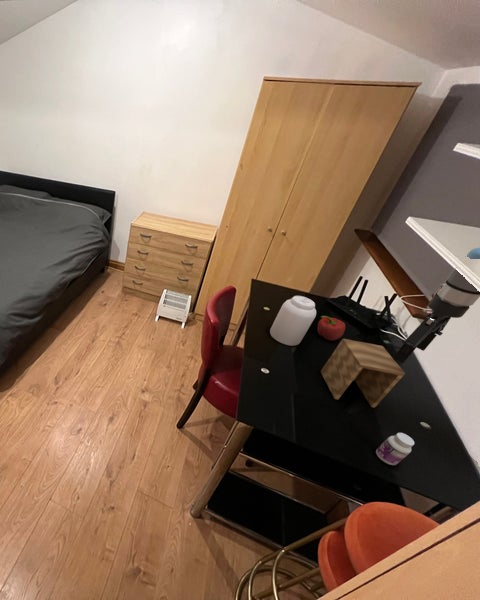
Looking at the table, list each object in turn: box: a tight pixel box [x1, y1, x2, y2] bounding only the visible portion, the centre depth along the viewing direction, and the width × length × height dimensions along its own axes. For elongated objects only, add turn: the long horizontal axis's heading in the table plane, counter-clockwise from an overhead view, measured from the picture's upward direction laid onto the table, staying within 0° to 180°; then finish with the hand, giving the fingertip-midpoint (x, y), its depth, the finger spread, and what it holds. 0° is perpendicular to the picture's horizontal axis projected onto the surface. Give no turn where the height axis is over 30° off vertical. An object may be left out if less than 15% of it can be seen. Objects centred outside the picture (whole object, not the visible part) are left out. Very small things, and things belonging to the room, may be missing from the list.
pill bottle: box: [375, 432, 415, 466], centre depth 95 cm, size 5×5×10 cm
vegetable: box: [317, 315, 346, 342], centre depth 145 cm, size 11×10×10 cm
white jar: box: [269, 295, 317, 347], centre depth 139 cm, size 12×12×20 cm
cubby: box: [320, 338, 406, 409], centre depth 116 cm, size 14×13×17 cm
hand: (408, 354), depth 105 cm, fingers open, 13 cm apart
